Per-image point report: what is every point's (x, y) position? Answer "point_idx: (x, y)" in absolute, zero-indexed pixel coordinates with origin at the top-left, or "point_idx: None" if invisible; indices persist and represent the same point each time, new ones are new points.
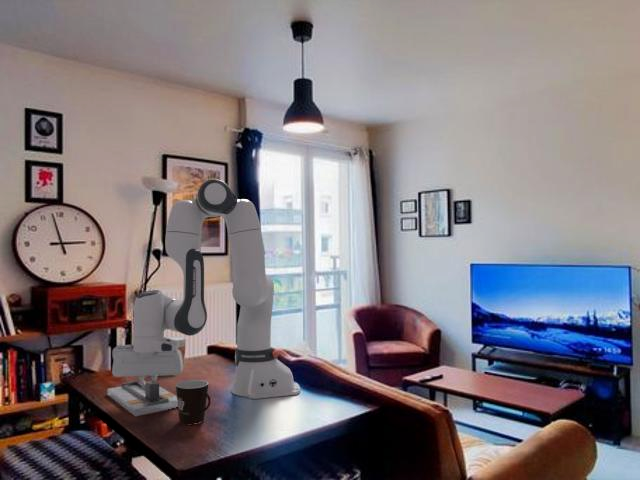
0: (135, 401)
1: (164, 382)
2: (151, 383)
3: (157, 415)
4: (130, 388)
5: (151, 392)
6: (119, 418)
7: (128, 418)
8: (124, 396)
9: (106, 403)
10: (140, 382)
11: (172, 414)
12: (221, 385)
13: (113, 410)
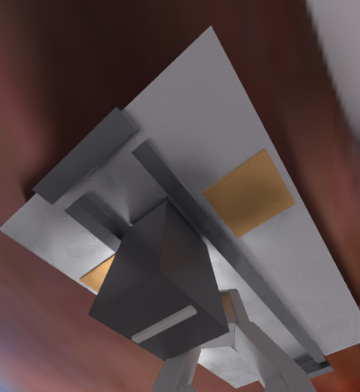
0: (245, 194)
1: (204, 389)
2: (168, 319)
3: (80, 69)
4: (296, 333)
5: (154, 232)
6: (288, 6)
7: (233, 4)
8: (309, 268)
9: (356, 244)
10: (274, 343)
11: (3, 88)
12: (34, 381)
13: (328, 160)
